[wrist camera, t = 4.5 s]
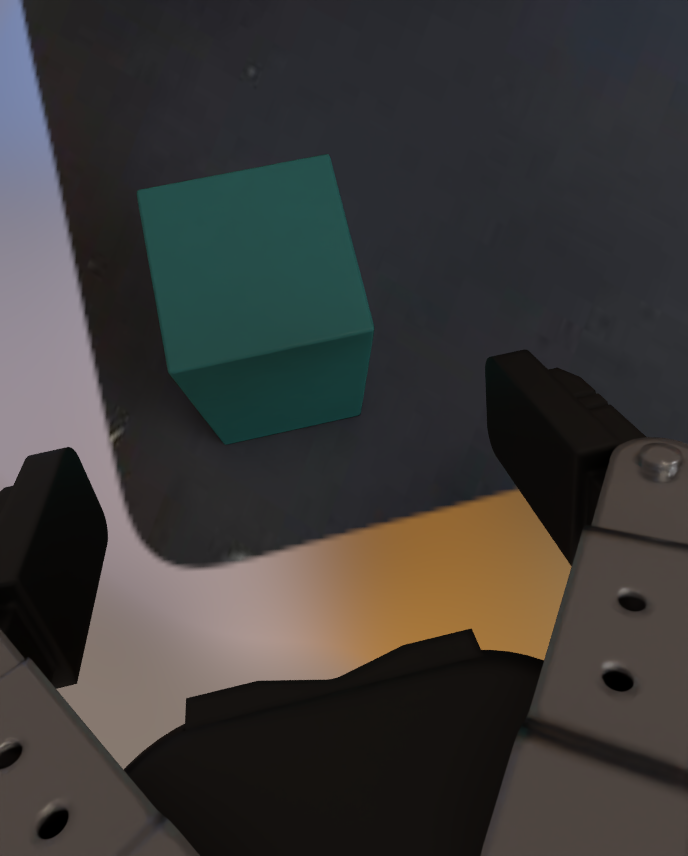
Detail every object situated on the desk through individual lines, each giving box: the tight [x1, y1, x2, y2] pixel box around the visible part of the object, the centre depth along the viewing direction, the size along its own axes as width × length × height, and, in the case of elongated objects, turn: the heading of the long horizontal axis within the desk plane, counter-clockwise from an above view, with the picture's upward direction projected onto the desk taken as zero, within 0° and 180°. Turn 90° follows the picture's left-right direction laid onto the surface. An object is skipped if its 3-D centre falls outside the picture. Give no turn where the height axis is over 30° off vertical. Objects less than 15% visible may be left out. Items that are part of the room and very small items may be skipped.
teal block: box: [137, 154, 374, 445], centre depth 20 cm, size 5×5×8 cm
